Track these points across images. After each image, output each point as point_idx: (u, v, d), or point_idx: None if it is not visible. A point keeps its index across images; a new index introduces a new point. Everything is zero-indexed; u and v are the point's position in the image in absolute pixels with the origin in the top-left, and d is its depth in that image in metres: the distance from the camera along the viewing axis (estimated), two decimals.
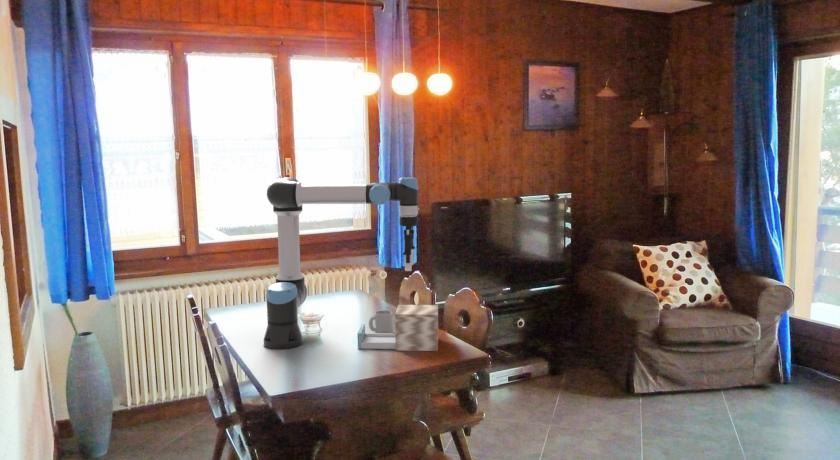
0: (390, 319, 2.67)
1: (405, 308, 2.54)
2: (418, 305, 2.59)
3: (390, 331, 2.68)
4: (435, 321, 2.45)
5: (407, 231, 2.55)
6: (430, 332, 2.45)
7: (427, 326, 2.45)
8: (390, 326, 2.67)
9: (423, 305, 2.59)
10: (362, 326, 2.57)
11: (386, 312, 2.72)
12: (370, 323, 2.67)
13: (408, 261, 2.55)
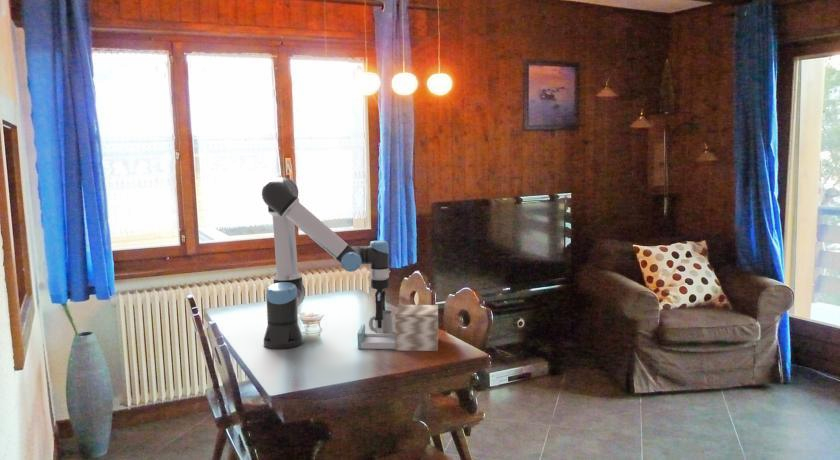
0: (390, 319, 2.67)
1: (405, 308, 2.54)
2: (418, 305, 2.59)
3: (390, 331, 2.67)
4: (435, 321, 2.45)
5: (378, 298, 2.61)
6: (430, 332, 2.45)
7: (427, 326, 2.45)
8: (390, 326, 2.67)
9: (423, 305, 2.59)
10: (362, 326, 2.57)
11: (386, 312, 2.72)
12: (370, 323, 2.67)
13: (380, 326, 2.64)
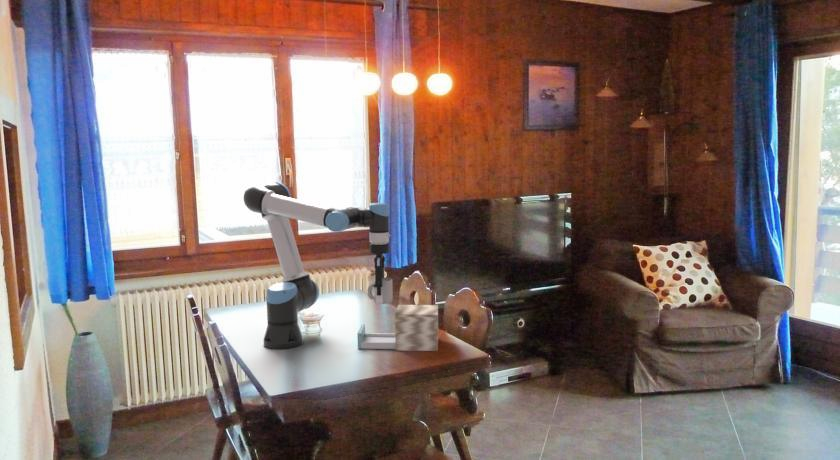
0: (390, 286, 2.51)
1: (405, 308, 2.54)
2: (418, 305, 2.59)
3: (390, 299, 2.52)
4: (435, 321, 2.45)
5: (378, 263, 2.45)
6: (430, 332, 2.45)
7: (427, 326, 2.45)
8: (390, 294, 2.52)
9: (423, 305, 2.59)
10: (362, 326, 2.57)
11: (386, 280, 2.56)
12: (369, 291, 2.51)
13: (379, 293, 2.48)
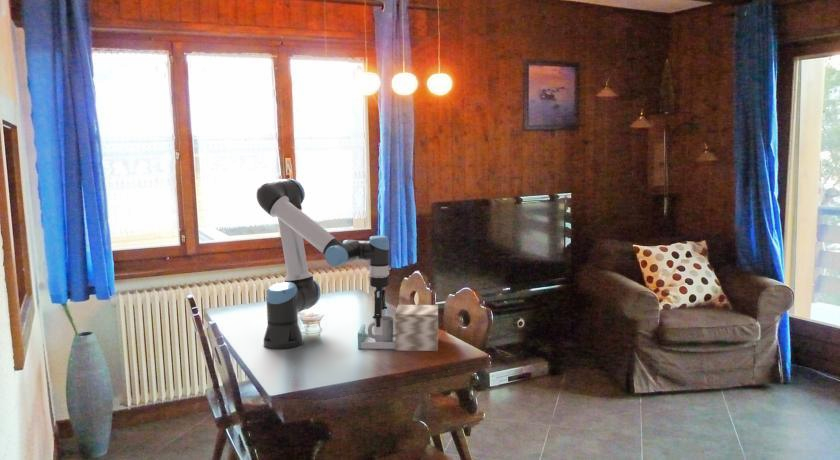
0: (390, 326, 2.52)
1: (405, 308, 2.54)
2: (418, 305, 2.59)
3: (390, 338, 2.52)
4: (435, 321, 2.45)
5: (378, 294, 2.45)
6: (430, 332, 2.45)
7: (427, 326, 2.45)
8: (390, 333, 2.52)
9: (423, 305, 2.59)
10: (362, 326, 2.57)
11: (386, 318, 2.57)
12: (369, 330, 2.52)
13: (378, 325, 2.45)
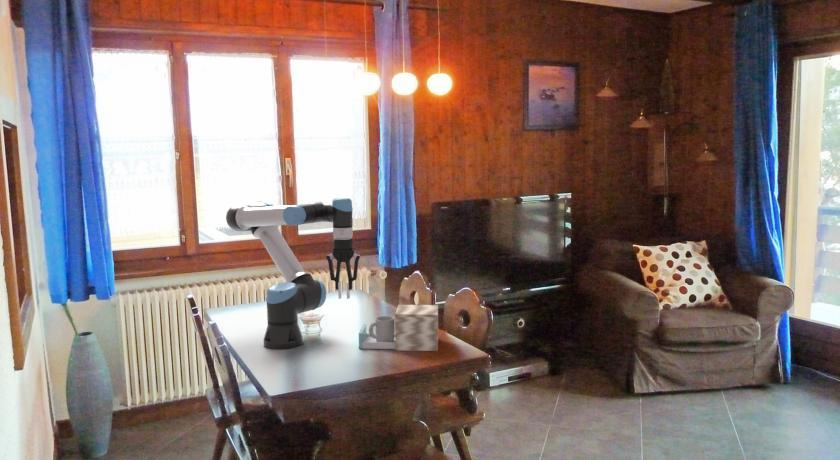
0: (391, 326, 2.52)
1: (405, 308, 2.54)
2: (418, 305, 2.59)
3: (391, 338, 2.52)
4: (435, 321, 2.45)
5: None
6: (430, 332, 2.45)
7: (427, 326, 2.45)
8: (391, 333, 2.52)
9: (423, 305, 2.59)
10: (363, 326, 2.57)
11: (387, 318, 2.57)
12: (370, 330, 2.52)
13: None
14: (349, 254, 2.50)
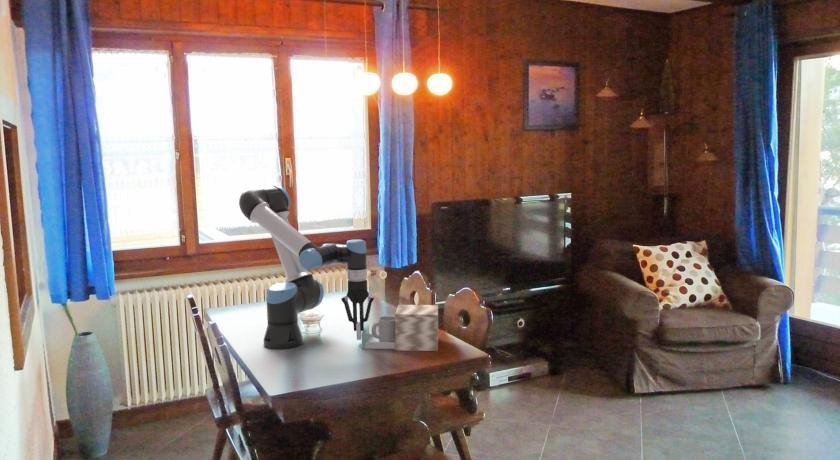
0: (394, 326, 2.52)
1: (405, 308, 2.54)
2: (418, 305, 2.59)
3: (394, 338, 2.52)
4: (435, 321, 2.45)
5: None
6: (430, 332, 2.45)
7: (427, 326, 2.45)
8: (394, 333, 2.52)
9: (423, 305, 2.59)
10: (366, 326, 2.57)
11: (390, 318, 2.57)
12: (373, 330, 2.51)
13: None
14: (363, 295, 2.51)
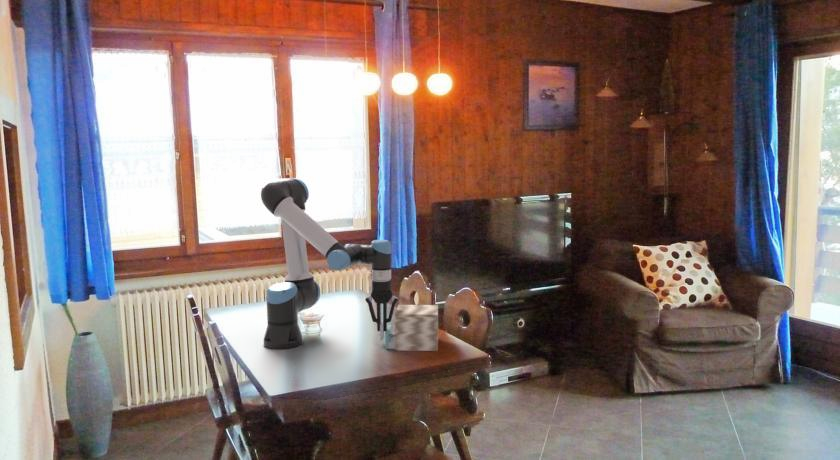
0: None
1: (405, 308, 2.54)
2: (418, 305, 2.59)
3: None
4: (435, 321, 2.45)
5: (366, 300, 2.53)
6: (430, 332, 2.45)
7: (427, 326, 2.45)
8: None
9: (423, 305, 2.59)
10: (389, 326, 2.57)
11: None
12: None
13: None
14: (387, 296, 2.51)
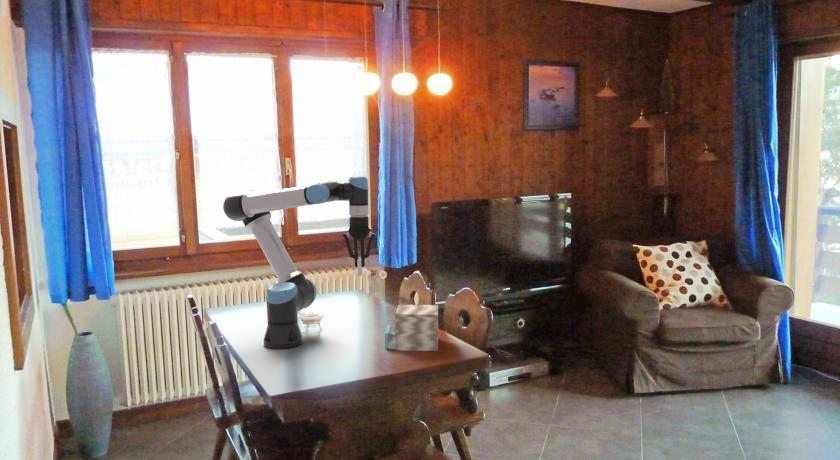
0: None
1: (405, 308, 2.54)
2: (418, 305, 2.59)
3: None
4: (435, 321, 2.45)
5: None
6: (430, 332, 2.45)
7: (427, 326, 2.45)
8: None
9: (423, 305, 2.59)
10: (388, 326, 2.57)
11: None
12: None
13: (355, 265, 2.57)
14: (365, 231, 2.54)
